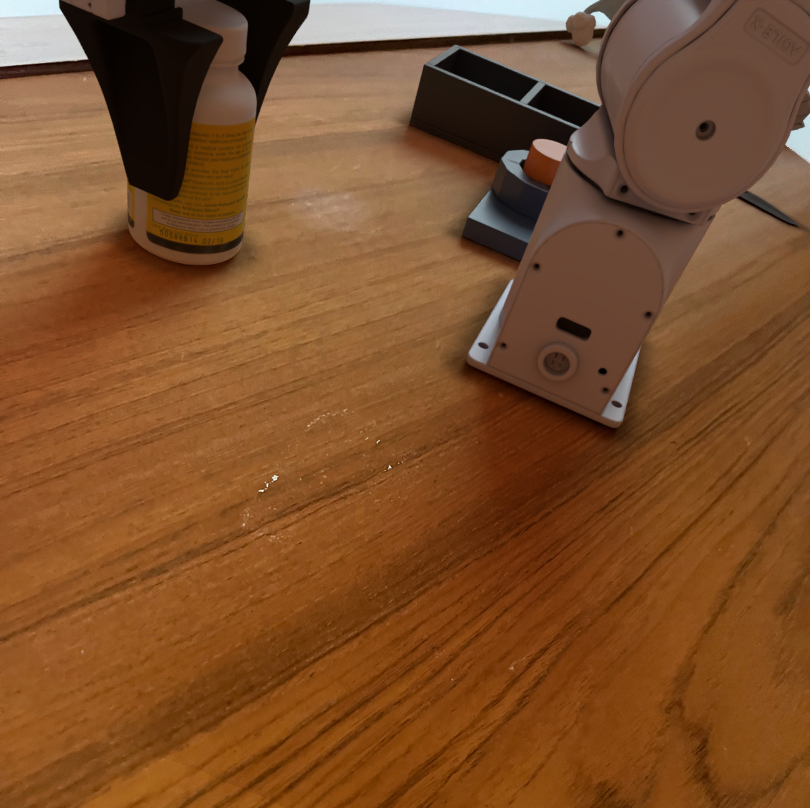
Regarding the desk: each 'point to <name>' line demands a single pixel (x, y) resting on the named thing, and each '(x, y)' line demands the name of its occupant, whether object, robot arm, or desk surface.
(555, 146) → the button
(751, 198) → the knife
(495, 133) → the rack
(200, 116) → the supplement bottle
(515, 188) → the block
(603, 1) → the toy figure
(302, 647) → the desk surface
